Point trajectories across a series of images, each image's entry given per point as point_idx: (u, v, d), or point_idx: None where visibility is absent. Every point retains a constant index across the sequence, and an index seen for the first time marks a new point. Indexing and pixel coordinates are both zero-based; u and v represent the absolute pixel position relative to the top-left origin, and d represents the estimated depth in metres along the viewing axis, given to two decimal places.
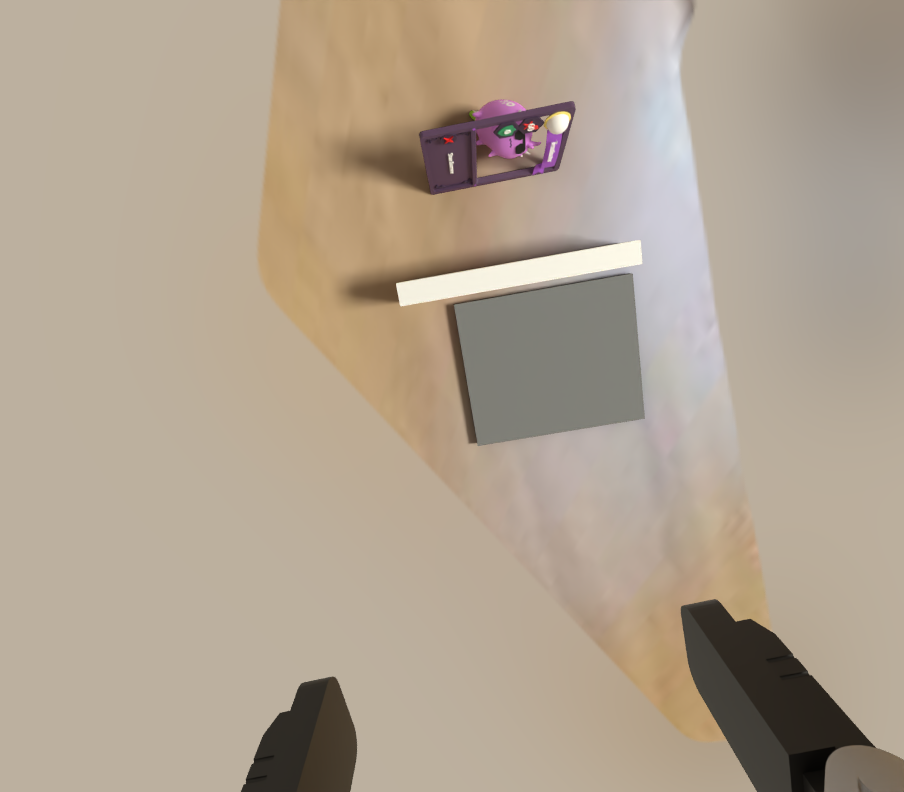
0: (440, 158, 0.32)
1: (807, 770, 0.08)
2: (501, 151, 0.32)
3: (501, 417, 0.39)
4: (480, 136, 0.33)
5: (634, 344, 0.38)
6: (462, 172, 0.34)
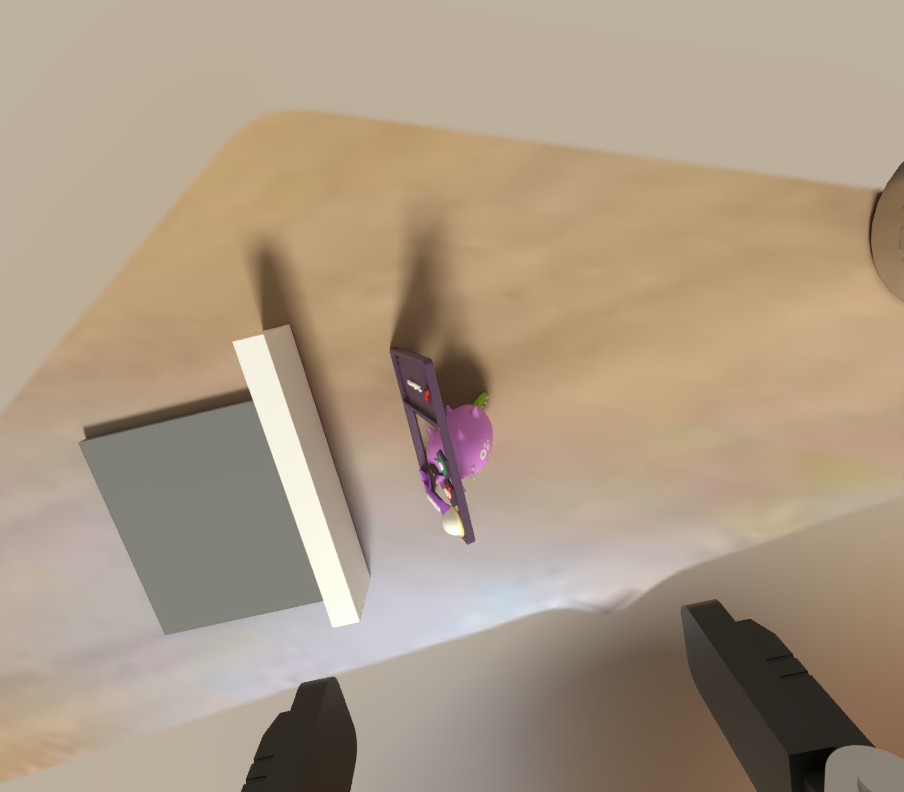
0: (416, 374, 0.24)
1: (807, 770, 0.08)
2: (431, 445, 0.26)
3: (126, 470, 0.29)
4: (452, 414, 0.27)
5: (254, 610, 0.31)
6: (411, 393, 0.27)
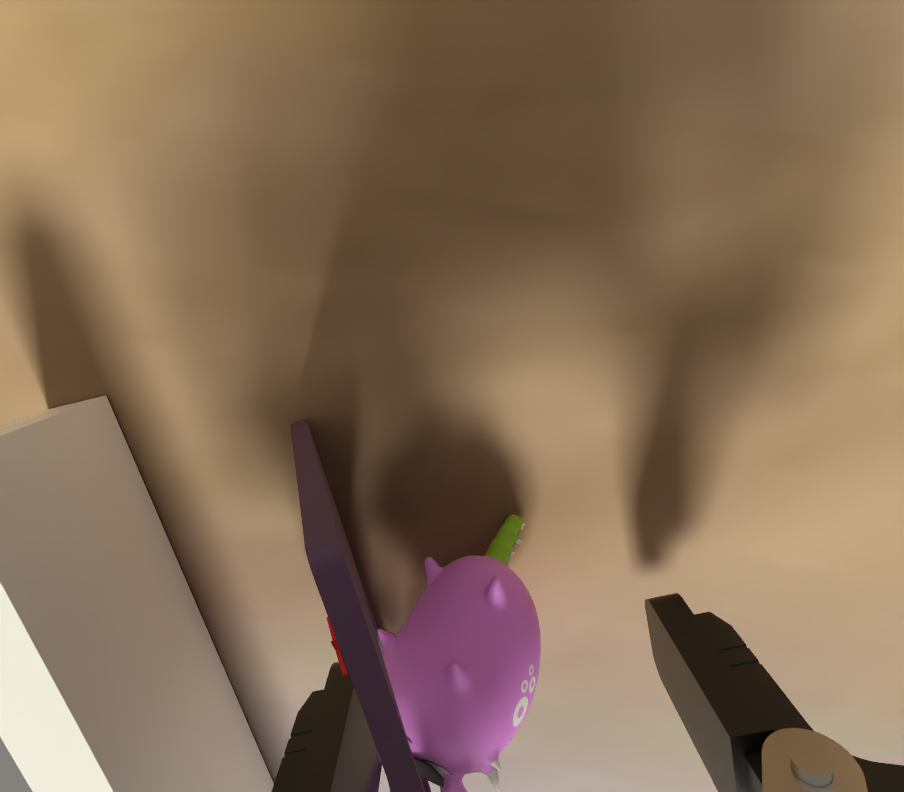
0: None
1: (748, 752, 0.08)
2: None
3: None
4: (440, 588, 0.11)
5: None
6: None
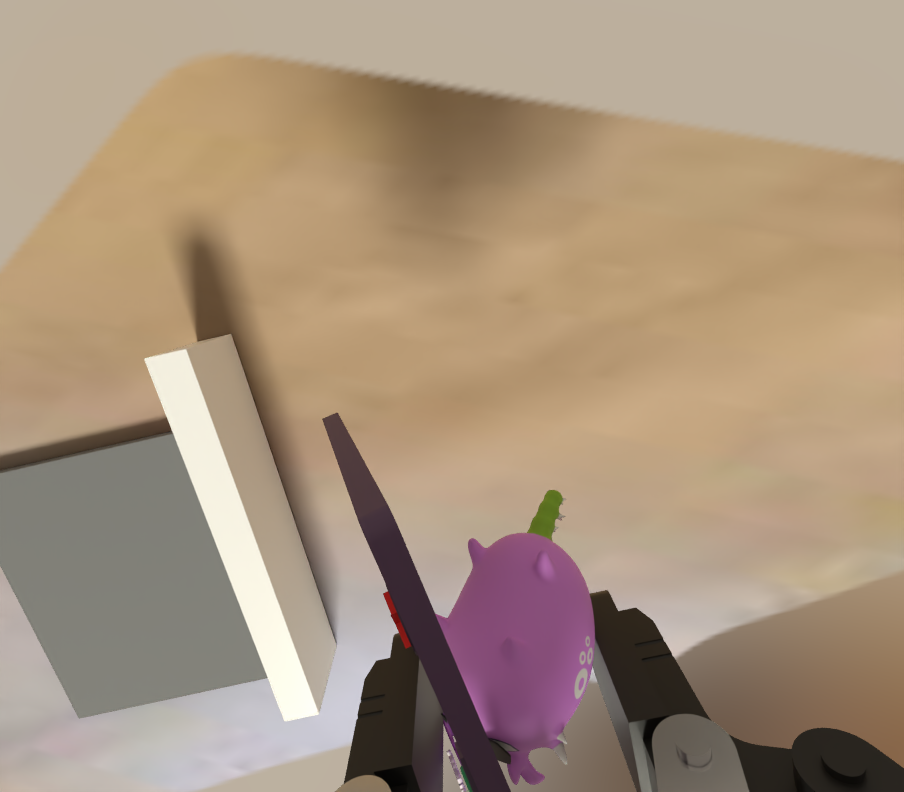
0: None
1: (646, 736, 0.09)
2: None
3: (21, 517, 0.23)
4: (487, 568, 0.11)
5: (190, 688, 0.25)
6: None
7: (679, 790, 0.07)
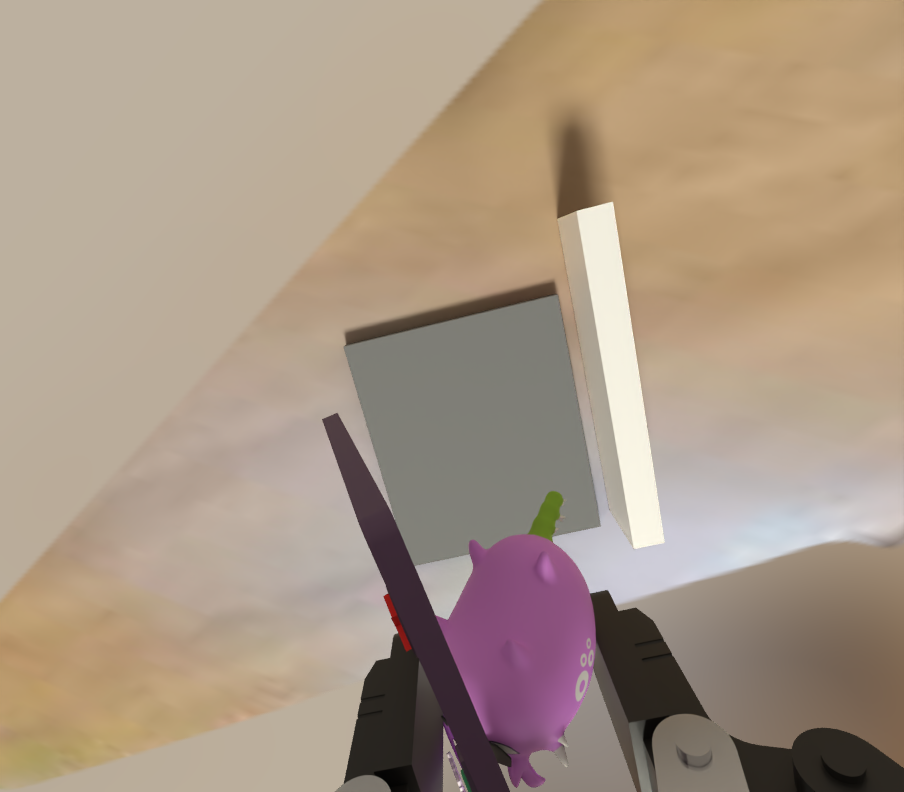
0: None
1: (646, 736, 0.09)
2: None
3: (391, 378, 0.26)
4: (487, 569, 0.11)
5: None
6: None
7: (679, 790, 0.07)
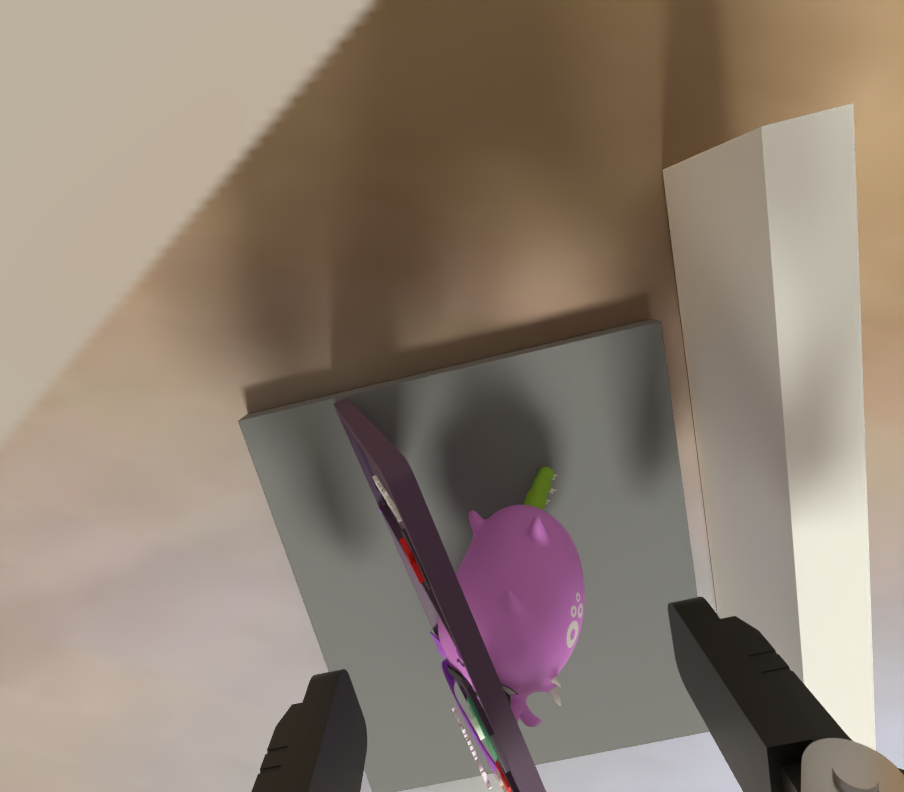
0: None
1: (785, 762, 0.08)
2: None
3: (334, 479, 0.14)
4: (486, 535, 0.12)
5: (551, 753, 0.16)
6: None
7: None
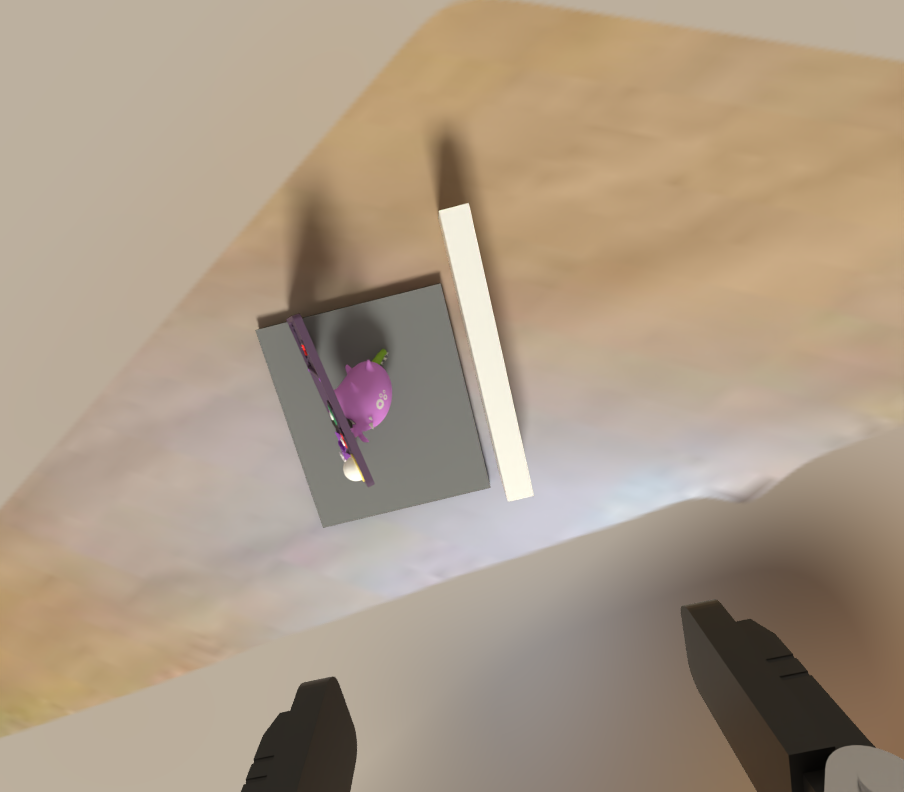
0: None
1: (807, 770, 0.08)
2: None
3: (299, 357, 0.30)
4: (350, 371, 0.28)
5: (411, 501, 0.32)
6: None
7: None
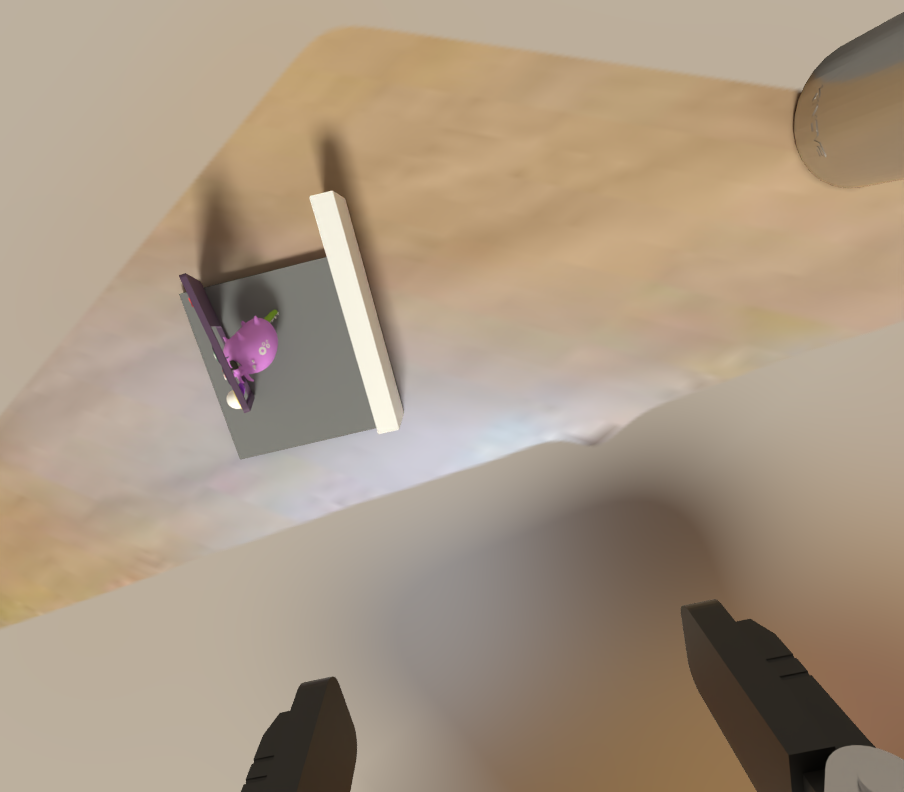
0: None
1: (807, 770, 0.08)
2: (224, 349, 0.34)
3: None
4: (243, 325, 0.35)
5: (311, 438, 0.39)
6: None
7: None
